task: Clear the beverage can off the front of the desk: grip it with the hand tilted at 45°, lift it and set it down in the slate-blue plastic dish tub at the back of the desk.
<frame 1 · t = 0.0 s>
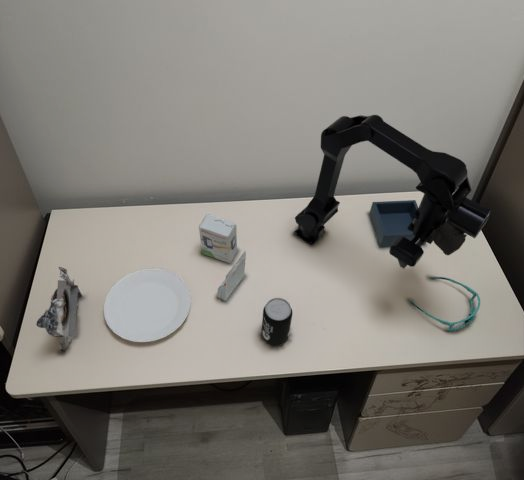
hand: (412, 255, 115), 15 cm above the table, tool pointing down, fingers open, 9 cm apart
sunglasses: (444, 306, 124), on the table
tub: (395, 229, 140), on the table
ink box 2: (231, 287, 125), on the table
beverage can: (275, 335, 117), on the table
grey ornamental figurine: (69, 324, 117), on the table
plate: (149, 308, 120), on the table
ink box: (219, 253, 132), on the table
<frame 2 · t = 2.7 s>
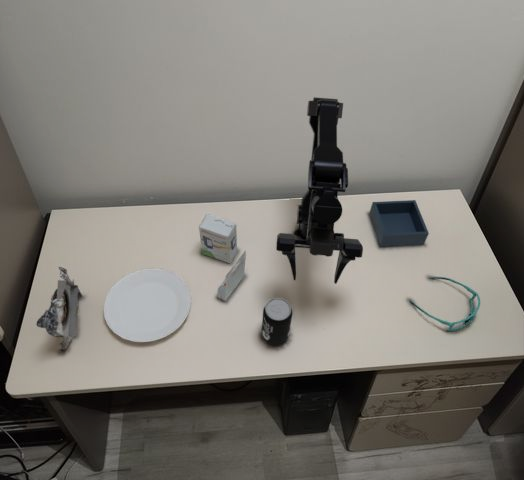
hand: (314, 281, 110), 14 cm above the table, tool tilted 35°, fingers open, 9 cm apart
nothing on the table moved.
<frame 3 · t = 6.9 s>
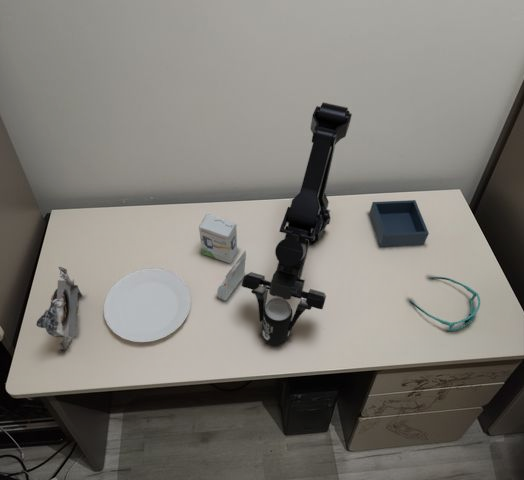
hand: (274, 326, 111), 7 cm above the table, tool tilted 45°, fingers closed on beverage can, 6 cm apart
beverage can: (275, 335, 117), on the table, touching gripper
everything else where it was.
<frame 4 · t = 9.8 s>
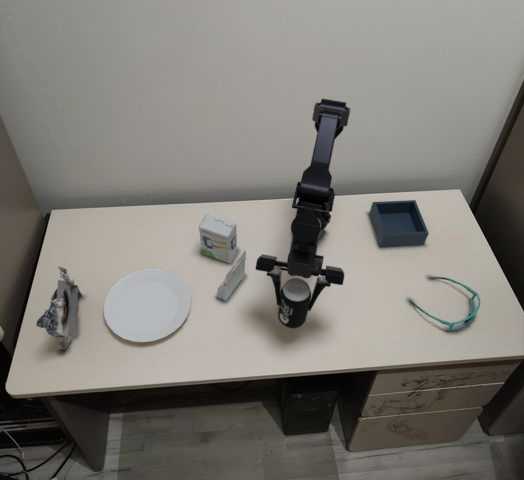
hand: (293, 307, 106), 13 cm above the table, tool tilted 45°, fingers closed on beverage can, 6 cm apart
beverage can: (291, 317, 112), point 7 cm above the table, touching gripper
everything else where it was.
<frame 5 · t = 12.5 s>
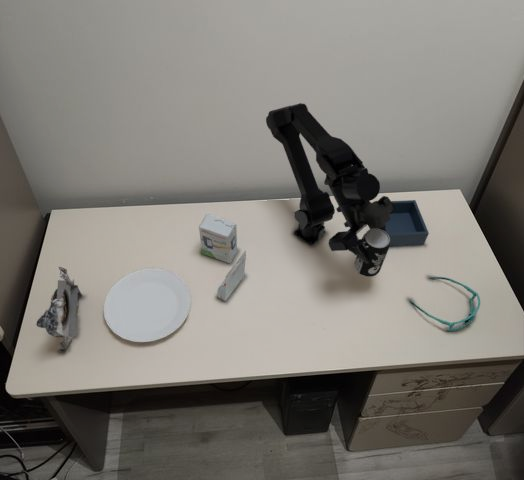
hand: (376, 255, 116), 13 cm above the table, tool tilted 45°, fingers closed on beverage can, 6 cm apart
beverage can: (366, 268, 122), point 7 cm above the table, touching gripper
everything else where it was.
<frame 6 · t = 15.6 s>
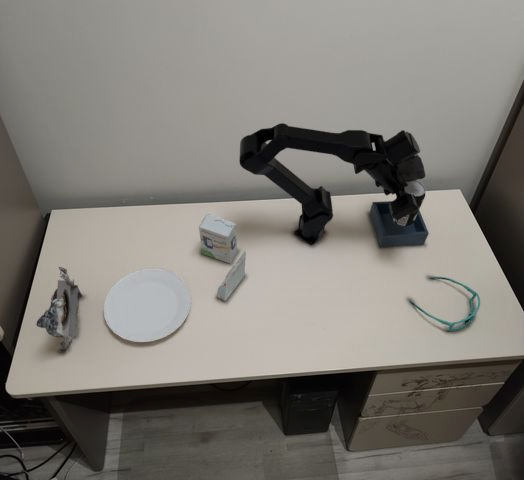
hand: (413, 202, 128), 13 cm above the table, tool tilted 45°, fingers closed on beverage can, 6 cm apart
beverage can: (401, 219, 133), point 7 cm above the table, touching gripper
everything else where it was.
when the fingers open (7 cm above the table, at t = 18.5 s): beverage can stays where it is, resting on tub.
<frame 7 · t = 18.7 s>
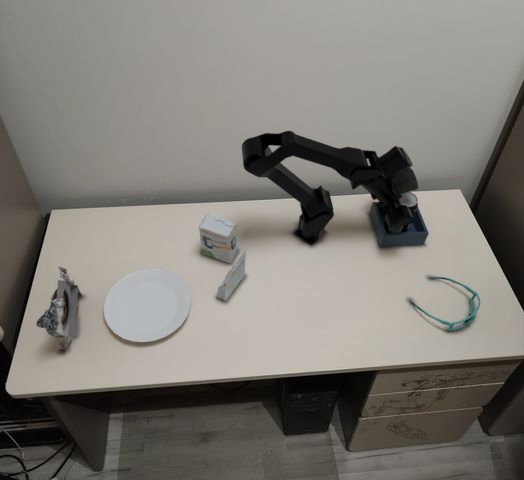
hand: (407, 211, 134), 7 cm above the table, tool tilted 45°, fingers open, 8 cm apart
beverage can: (395, 228, 139), resting on tub
everything else where it was.
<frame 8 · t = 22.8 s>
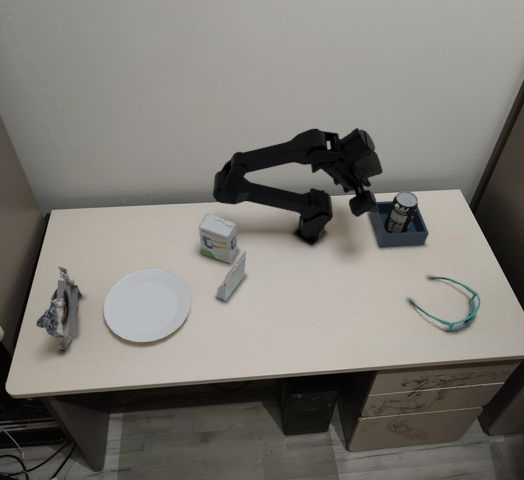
hand: (373, 198, 128), 14 cm above the table, tool tilted 45°, fingers open, 9 cm apart
nothing on the table moved.
at the end: beverage can inside the target area in the tub (0.1 cm from its centre), point 0.4 cm above the tub's base; the gripper is holding nothing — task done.
